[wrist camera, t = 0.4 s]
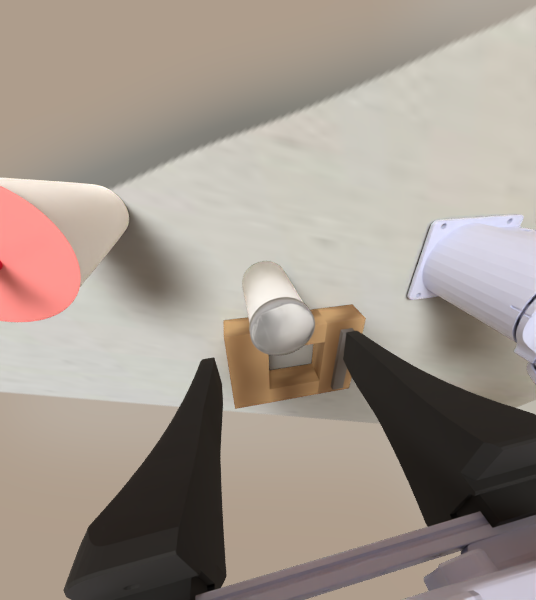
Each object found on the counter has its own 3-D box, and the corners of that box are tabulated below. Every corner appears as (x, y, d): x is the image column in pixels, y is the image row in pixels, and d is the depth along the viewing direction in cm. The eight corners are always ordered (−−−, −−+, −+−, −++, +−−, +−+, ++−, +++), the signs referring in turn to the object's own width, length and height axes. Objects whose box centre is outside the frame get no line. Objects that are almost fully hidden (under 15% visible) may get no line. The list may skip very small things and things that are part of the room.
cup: (99, 263, 17) (-79, 410, 7) (30, 191, 14) (-450, 260, 4) (161, 230, 17) (70, 333, 6) (103, 149, 14) (-220, 108, 4)
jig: (352, 304, 23) (368, 321, 21) (339, 371, 29) (350, 391, 26) (223, 320, 22) (224, 341, 19) (233, 389, 27) (235, 413, 24)
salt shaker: (288, 257, 20) (318, 298, 14) (287, 299, 22) (312, 350, 16) (238, 262, 19) (248, 306, 13) (242, 304, 21) (252, 359, 15)
